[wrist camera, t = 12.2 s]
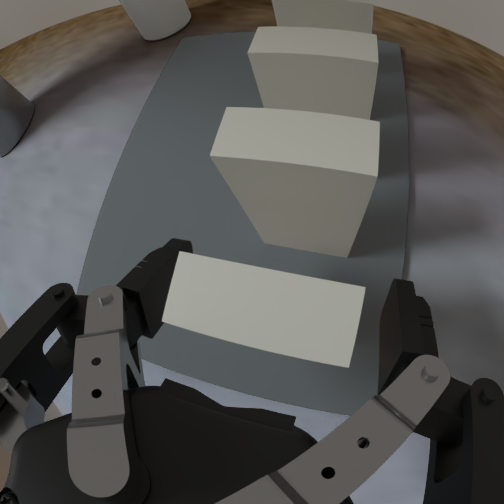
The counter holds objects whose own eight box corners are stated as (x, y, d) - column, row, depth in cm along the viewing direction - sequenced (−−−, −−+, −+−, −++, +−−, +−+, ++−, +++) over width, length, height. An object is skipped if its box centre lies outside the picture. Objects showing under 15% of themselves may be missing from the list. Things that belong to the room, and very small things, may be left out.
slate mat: (74, 326, 21) (69, 326, 20) (184, 40, 26) (182, 37, 26) (370, 416, 15) (371, 418, 15) (398, 47, 21) (399, 43, 20)
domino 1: (293, 113, 20) (271, -3, 11) (297, 94, 21) (277, -17, 11) (361, 121, 19) (373, 4, 10) (362, 101, 20) (371, -11, 10)
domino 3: (264, 243, 18) (209, 155, 9) (271, 212, 19) (226, 106, 9) (347, 257, 17) (377, 176, 8) (351, 225, 18) (379, 121, 8)
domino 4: (245, 326, 17) (161, 321, 8) (252, 293, 18) (179, 250, 8) (330, 345, 16) (348, 368, 7) (337, 310, 17) (365, 286, 7)
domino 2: (280, 170, 19) (247, 52, 10) (286, 145, 20) (258, 26, 10) (357, 181, 18) (378, 62, 9) (359, 155, 19) (376, 34, 9)
